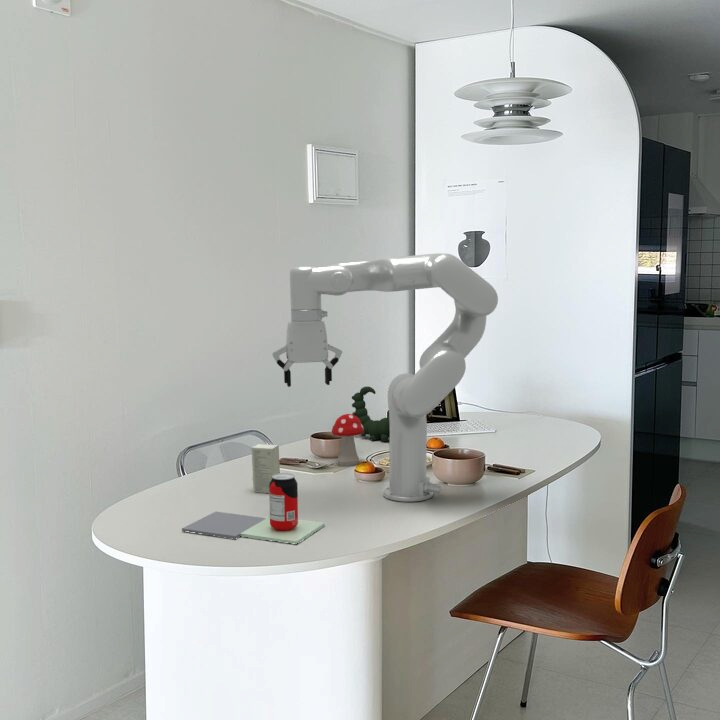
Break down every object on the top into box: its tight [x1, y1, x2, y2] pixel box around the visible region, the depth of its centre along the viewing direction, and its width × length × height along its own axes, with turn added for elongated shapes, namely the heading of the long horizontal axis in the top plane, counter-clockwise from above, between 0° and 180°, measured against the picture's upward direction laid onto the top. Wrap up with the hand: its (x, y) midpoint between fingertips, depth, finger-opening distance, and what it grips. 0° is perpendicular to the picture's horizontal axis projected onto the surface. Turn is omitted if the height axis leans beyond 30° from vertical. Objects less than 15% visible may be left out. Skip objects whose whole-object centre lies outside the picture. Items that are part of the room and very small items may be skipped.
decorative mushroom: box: [331, 413, 364, 467], centre depth 258 cm, size 10×9×15 cm
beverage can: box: [268, 472, 299, 531], centre depth 196 cm, size 6×6×12 cm
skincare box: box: [251, 443, 281, 494], centre depth 230 cm, size 6×4×12 cm
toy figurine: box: [351, 386, 390, 442], centre depth 289 cm, size 9×19×25 cm
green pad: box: [240, 516, 326, 544], centre depth 197 cm, size 14×14×1 cm
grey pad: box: [181, 511, 267, 540], centre depth 201 cm, size 14×14×1 cm
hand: (308, 385), depth 217 cm, fingers open, 9 cm apart
